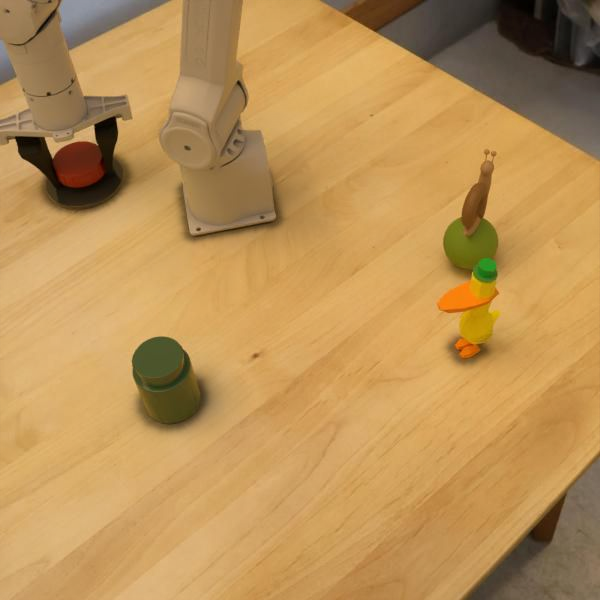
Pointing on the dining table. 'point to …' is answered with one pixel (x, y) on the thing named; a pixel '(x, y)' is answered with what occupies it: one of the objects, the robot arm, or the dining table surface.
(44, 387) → the dining table surface
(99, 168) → the lid
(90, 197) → the coaster
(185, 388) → the jar
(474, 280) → the toy figure
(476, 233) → the snail figurine
